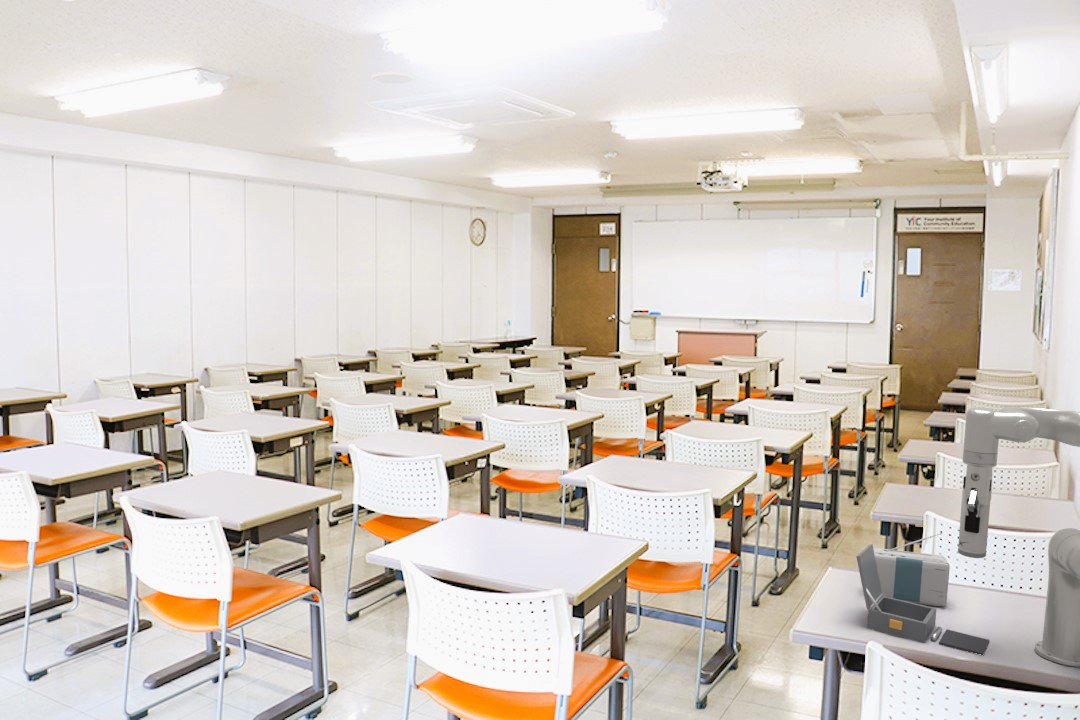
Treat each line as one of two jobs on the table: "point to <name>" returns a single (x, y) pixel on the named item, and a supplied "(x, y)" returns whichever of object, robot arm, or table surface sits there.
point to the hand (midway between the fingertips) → (973, 528)
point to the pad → (964, 642)
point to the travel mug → (974, 542)
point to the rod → (936, 633)
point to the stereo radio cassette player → (913, 575)
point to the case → (892, 605)
